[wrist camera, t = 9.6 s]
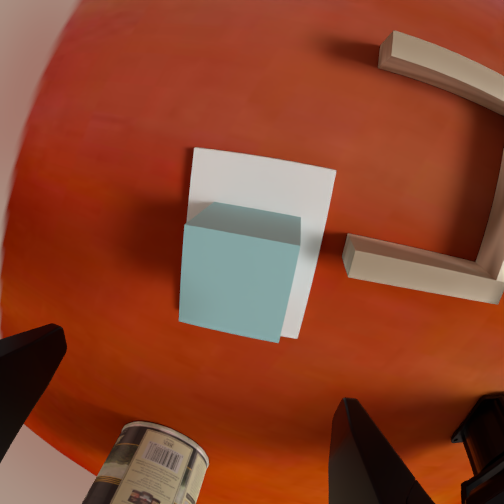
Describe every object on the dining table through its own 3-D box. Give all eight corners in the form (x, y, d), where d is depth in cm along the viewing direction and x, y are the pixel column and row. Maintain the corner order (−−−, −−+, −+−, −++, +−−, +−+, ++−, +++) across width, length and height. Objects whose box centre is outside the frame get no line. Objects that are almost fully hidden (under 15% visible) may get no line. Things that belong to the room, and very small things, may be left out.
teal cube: (284, 295, 20) (278, 342, 15) (205, 279, 20) (178, 321, 15) (300, 217, 18) (300, 245, 13) (214, 201, 18) (184, 224, 14)
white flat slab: (297, 333, 21) (297, 338, 21) (183, 310, 22) (180, 314, 21) (335, 169, 17) (336, 170, 17) (197, 147, 18) (194, 147, 17)
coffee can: (136, 462, 32) (95, 547, 18) (111, 411, 28) (48, 511, 15) (215, 480, 30) (185, 579, 17) (203, 431, 27) (158, 557, 13)
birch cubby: (478, 284, 18) (497, 304, 15) (341, 256, 19) (348, 277, 16) (519, 103, 13) (545, 101, 10) (380, 45, 14) (393, 30, 11)
